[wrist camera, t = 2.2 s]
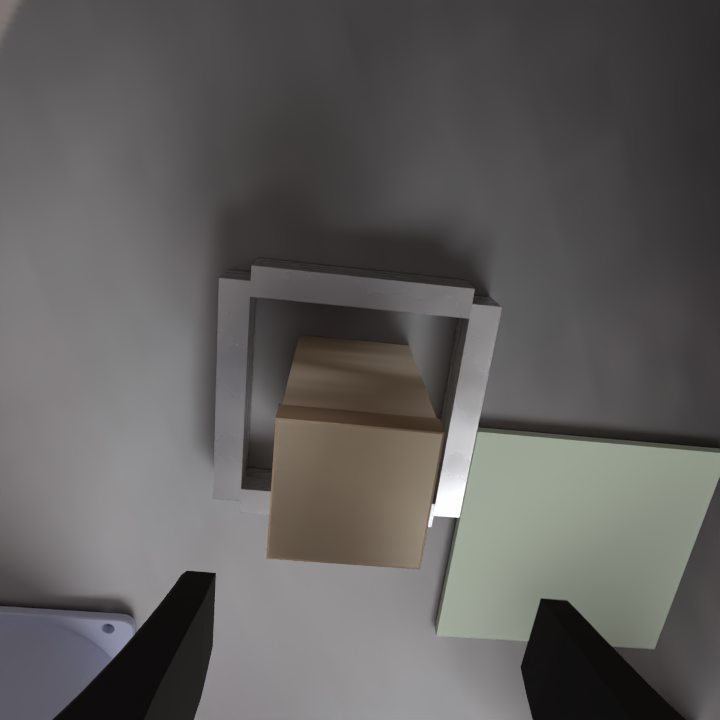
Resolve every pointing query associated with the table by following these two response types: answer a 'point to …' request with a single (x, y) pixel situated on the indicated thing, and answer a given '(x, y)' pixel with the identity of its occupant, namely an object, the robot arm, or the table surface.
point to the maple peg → (353, 456)
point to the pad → (574, 533)
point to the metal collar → (353, 291)
